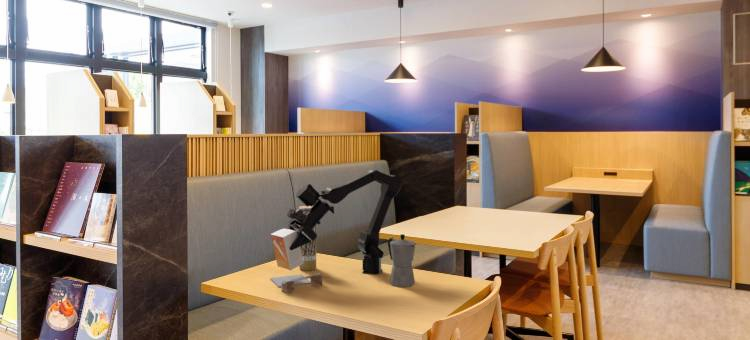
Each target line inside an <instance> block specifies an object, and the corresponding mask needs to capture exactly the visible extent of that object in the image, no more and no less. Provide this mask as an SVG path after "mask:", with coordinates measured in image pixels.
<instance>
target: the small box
mask: <svg viewBox="0 0 750 340" xmlns="http://www.w3.org/2000/svg"><path fill="white" fill-rule="evenodd" d="M296 237H297V231H294V230H290V229H289V228H281V229H278V230H276V231H274V232H272V233H270V238H271V243H272V246H273V247H272V248H273V251H274V255H275V260H276V265H277V267H278V268H279V267H280V268H282V269H286V270H287V271H293V270H294V269H296V268H299V266H300V265H302V264H304V263H303V258H302V254H301V249H300V247H298V248H296V249H294V250H290V249H289V248H290V246H291V245H292V243H293V242H294V240H295V239H296Z"/></svg>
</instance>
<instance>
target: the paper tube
mask: <svg viewBox="0 0 750 340" xmlns="http://www.w3.org/2000/svg"><path fill="white" fill-rule="evenodd" d="M311 207H312V206H308V207H307V206H306V205H302V206H301V205H300V206H298V209H300V210H302V211H303V213H304V212H305V211H307V212H308V211H309V210H310V209H311ZM313 231H314V232H315V233H316V234H317V225H316V226H315V227H314V228H313ZM311 241H312V240H311ZM300 249H301V254H302V258H303V263H304V264H302V265H300V266H298V269H300V271H307V272H309V271H314V270H316V269H317V238H316V239H315V240H314V241H312V242H309V243H307V244H304V245H302V246H300Z"/></svg>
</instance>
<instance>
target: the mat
mask: <svg viewBox="0 0 750 340" xmlns="http://www.w3.org/2000/svg"><path fill="white" fill-rule="evenodd" d="M300 277H305V276H304V275H303V274H295V275H294V274H291V275H285V276H284V275H283V276H275V277H270V281H271V282H273V283H274V285H275V286H277V288H282V282H283V281H286V280H291V279H296V278H300ZM309 284H310V285H311V280H309V279H303V280H299V281H294V286H299V285H300V286H301V285H309Z"/></svg>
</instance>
